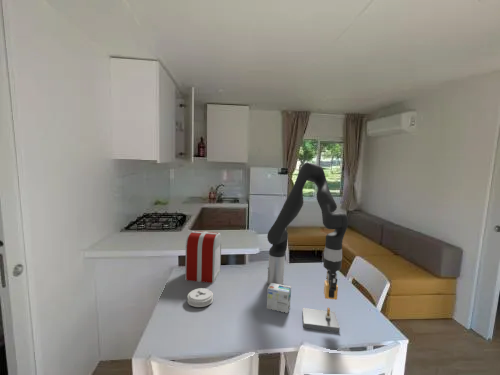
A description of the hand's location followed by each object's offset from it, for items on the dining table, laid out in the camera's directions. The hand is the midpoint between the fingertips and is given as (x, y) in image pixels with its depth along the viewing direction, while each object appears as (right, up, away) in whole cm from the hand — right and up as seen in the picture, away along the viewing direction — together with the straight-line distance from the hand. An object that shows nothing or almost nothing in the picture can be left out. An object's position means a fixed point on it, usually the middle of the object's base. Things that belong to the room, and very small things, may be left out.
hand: (330, 294), depth 116 cm
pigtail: (-1, -11, +1) cm, 11 cm away
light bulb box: (-22, -12, +12) cm, 27 cm away
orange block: (0, -1, 0) cm, 1 cm away
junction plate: (-4, -13, +2) cm, 14 cm away
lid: (-61, -10, +15) cm, 63 cm away
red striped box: (-64, -7, +43) cm, 78 cm away
